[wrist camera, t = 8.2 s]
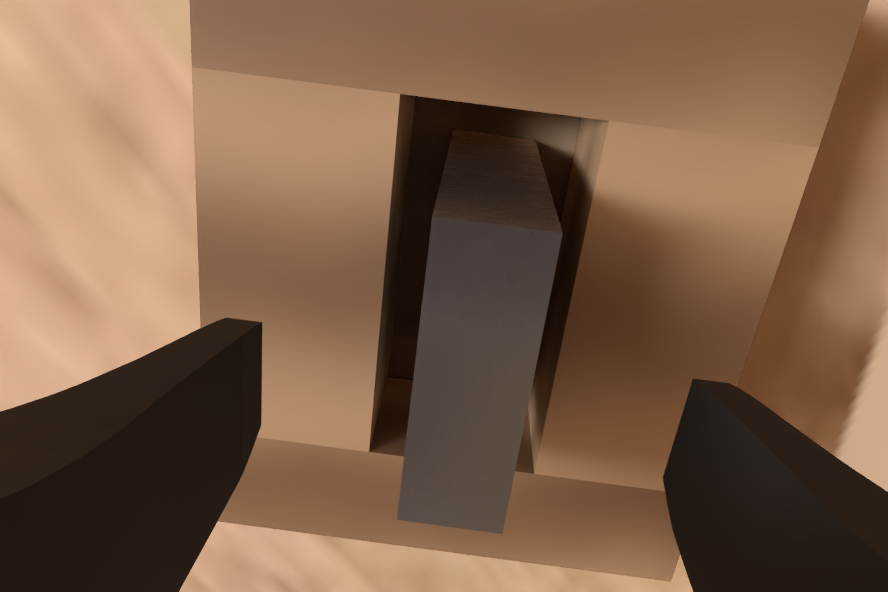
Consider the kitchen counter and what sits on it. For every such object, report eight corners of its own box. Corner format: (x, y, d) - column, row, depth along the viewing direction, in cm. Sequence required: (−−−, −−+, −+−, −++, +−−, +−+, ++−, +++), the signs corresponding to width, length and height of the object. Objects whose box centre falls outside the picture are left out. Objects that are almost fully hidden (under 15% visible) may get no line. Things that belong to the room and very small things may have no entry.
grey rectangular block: (498, 353, 19) (502, 534, 13) (427, 343, 19) (396, 519, 13) (535, 139, 17) (563, 233, 11) (453, 128, 17) (432, 215, 11)
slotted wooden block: (643, 490, 21) (670, 581, 18) (249, 438, 21) (207, 519, 18) (792, -14, 15) (873, -13, 12) (249, -83, 15) (186, -101, 12)
